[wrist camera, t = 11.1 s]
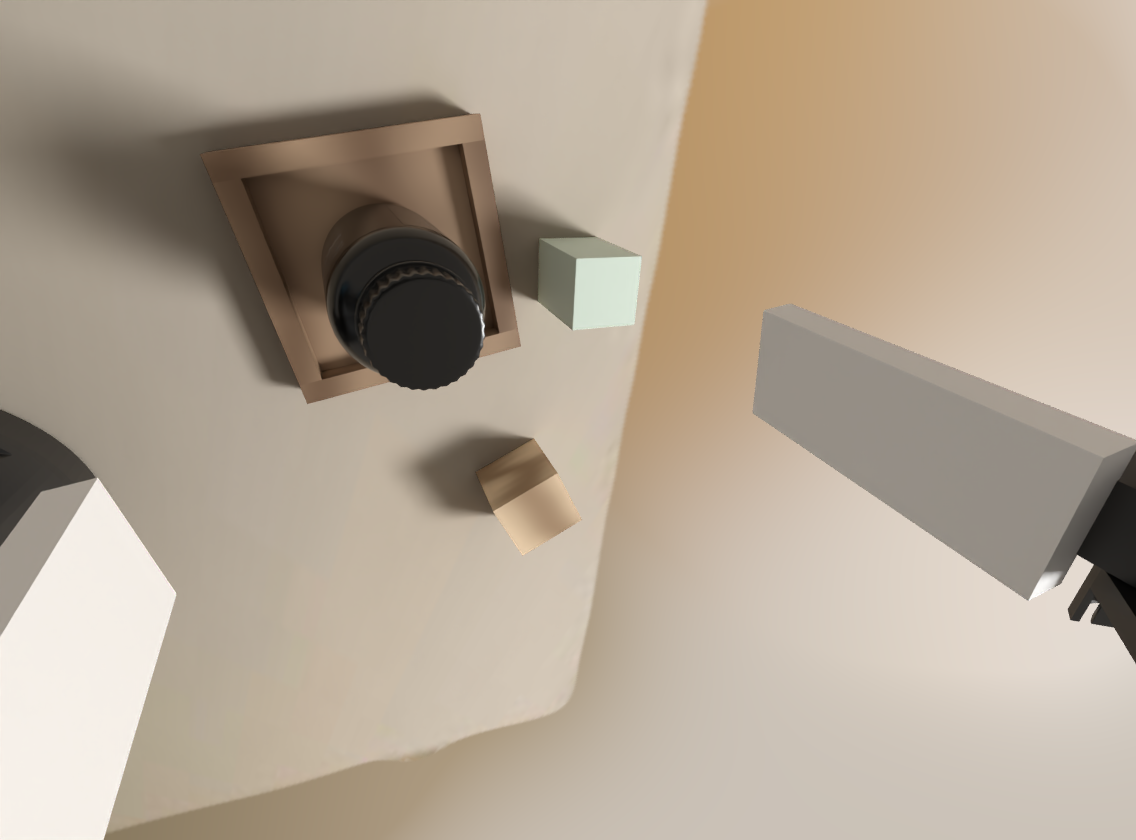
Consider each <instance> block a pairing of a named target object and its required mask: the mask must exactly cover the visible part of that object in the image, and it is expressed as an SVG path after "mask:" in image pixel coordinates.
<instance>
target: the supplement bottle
mask: <svg viewBox="0 0 1136 840" xmlns="http://www.w3.org/2000/svg"><path fill="white" fill-rule="evenodd" d="M321 269H322V278H323V286H324V294H325V301H326V309H327V314H328V318H329V321H330V324H331V327H332V329H333V332H334V334H335V336H336V338H337V339H338V341H339V343H340V344H341V345H342V347H343V348H344V349H345V350H346V352H347V353H348V354H349V355H350V356H351V357H352V358H353V359H355V360H356V361H357V362H359V363H360V364H361V365H363V366H364V367H366V368H368V369H370V370H372V371H374V372H376V373H378V374H380V375H381V376H383V377H386V378H387V379H388V380H389V381H390V382H392V383H397V384H398V385H399V386H400V387H408V388H410V389H412V390H414V389H421V390H427V389H437V388H439V387H440V386H447V385H449V384H450V383H451V382H455V381H457V380H458V379H459V378H460V377H461V376H463V375H465V374H466V373H467V371H468V369H470V368H471V367H473V366H474V362H475V360H477V359H478V358H479V356H480V351H481V349H482V348H483V340H484V338H485V332H484V329H485V322H484V317H485V307H486V303H485V293H484V288H483V284H482V281H481V278H480V275H479V273H478V271H477V269H476V268H475V266H474V264H473V263H472V261H471V260H470V259H469V257H468V256H467V255H466V254H465V253H464V251H463V250H462V249H461V248H460V247H459V246H457V245H456V244H455V243H454V242H453V241H452V240H450V239H449V238H448V237H447V236H446V235H444V234H443V233H442V232H441V231H440V230H438V229H437V228H436V227H435V226H434V225H432V224H431V223H430V222H429V221H427V220H426V219H425V218H423V217H422V216H420V215H419V214H417V213H416V212H414V211H412V210H410V209H407V208H405V207H402V206H398V205H394V204H387V203H375V204H368V205H364V206H361V207H358V208H356V209H354V210H352V211H350V212H348V213H347V214H345V215H344V216H343V217H341V218H340V219H339V220H338V221H337V222H336V223H335V225H334V226H333V227H332V228H331V230H330V232H329V233H328V235H327V237H326V240H325V243H324V246H323V250H322V257H321Z"/></svg>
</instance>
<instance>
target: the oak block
mask: <svg viewBox="0 0 1136 840" xmlns="http://www.w3.org/2000/svg"><path fill="white" fill-rule="evenodd" d="M476 475H477V477H478V479H479V481H480V483H481V486H482V488H483V490H484V492H485V495H486V497H487V499H488V501H489V503H490V506H491V508H492V510H493V512H494V514H495V515H496V517H497V518H498V520H499V521H500V523H501V524H502V526H503V527H504V529H505V530H506V532H507V533H508V535H509V536H510V538H511V539H512V541H513V542H514V544H515V545H516V547H517V548H518V550H519V551H520V553H521V554H522V556H523V555H525V554H526V553H528V552H530V551H531V550H533V549H535V548H536V547H538V546H540V545H541V544H543V543H545V542H546V541H548V540H549V539H551V538H553V537H554V536H556V535H558V534H559V533H561V532H563V531H564V530H566V529H568V528H569V527H571V526H572V525H574V524H576V523H577V522H579V521H581V520H582V519H581V517H580V515H579V513H578V511H577V509H576V508H575V506H574V504H573V502H572V500H571V498H570V496H569V494H568V492H567V490H566V488H565V487H564V485H563V483H562V481H561V479H560V477H559V475H558V473H557V472H556V470H555V469H554V467H553V466H552V464H551V463H550V461H549V460H548V459H547V457H546V456H545V454H544V453H543V451H542V450H541V448H540V447H539V445H538V444H537V442H536V441H535V439H532V440H530V441H529V442H527V443H525V444H523V445H522V446H520V447H518V448H516V449H515V450H513V451H511V452H510V453H508V454H506V455H504V456H503V457H501V458H499V459H497V460H496V461H494V462H492V463H491V464H489V465H487V466H485V467H484V468H482V469H480V470H479V471H477V472H476Z"/></svg>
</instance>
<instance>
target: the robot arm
mask: <svg viewBox="0 0 1136 840" xmlns="http://www.w3.org/2000/svg"><path fill="white" fill-rule="evenodd" d="M753 414H755V415H756V416H758V417H759V418H761V419H762V420H764V421H765V422H767V423H768V424H769V425H771V426H772V427H774V428H775V429H777V430H778V431H780V432H781V433H783V434H784V435H786V436H787V437H789V438H790V439H792V440H793V441H794V442H796V443H797V444H799V445H800V446H802V447H803V448H805V449H806V450H808V451H809V452H811V453H812V454H813V455H815V456H816V457H818V458H819V459H821V460H822V461H824V462H825V463H827V464H828V465H830V466H831V467H833V468H834V469H835V470H837V471H838V472H840V473H841V474H843V475H844V476H846V477H847V478H849V479H850V480H852V481H853V482H855V483H856V484H858V485H859V486H860V487H862V488H863V489H865V490H866V491H868V492H869V493H871V494H872V495H874V496H875V497H877V498H878V499H879V500H881V501H883V502H884V503H885V504H887V505H888V506H890V507H891V508H893V509H894V510H896V511H897V512H899V513H900V514H902V515H903V516H905V517H906V518H907V519H909V520H910V521H912V522H913V523H915V524H916V525H918V526H919V527H921V528H922V529H924V530H925V531H926V532H928V533H930V534H931V535H932V536H934V537H935V538H937V539H938V540H940V541H941V542H943V543H944V544H946V545H947V546H949V547H950V548H952V549H953V550H954V551H956V552H957V553H959V554H960V555H962V556H963V557H965V558H966V559H968V560H969V561H970V562H972V563H973V564H975V565H976V566H978V567H979V568H981V569H982V570H984V571H985V572H987V573H988V574H990V575H991V576H993V577H994V578H995V579H997V580H998V581H1000V582H1001V583H1003V584H1004V585H1006V586H1007V587H1009V588H1010V589H1012V590H1013V591H1015V592H1016V593H1018V594H1019V595H1020V596H1022V597H1023V598H1025V599H1026V600H1028V601H1029V600H1031V599H1033V598H1035V597H1036V596H1039V595H1040V594H1042V593H1044V592H1046V591H1048V590H1050V589H1052V588H1054V587H1056V586H1058V585H1060V584H1061V583H1062V580H1063V579H1064V577H1065V575H1066V574H1067V572H1068V570H1069V568H1070V566H1071V565H1072V563H1073V561H1074V559H1075V558H1076V556H1077V555H1079V556H1080V557H1082V558H1084V559H1086V560H1087V561H1089V562H1091V563H1093V564H1094V566H1093V568H1092V569H1091V571H1090V573H1089V574H1088V576H1087V578H1086V580H1085V581H1084V583H1083V584H1082V586H1081V588H1080V589H1079V591H1078V593H1077V594H1076V596H1075V598H1074V600H1073V601H1072V603H1071V605H1070V606H1069V608H1068V612H1069V616H1070V620H1073V621H1080V619H1081V617H1082V616H1083V614H1084V613H1085V611H1086V609H1087V608H1088V606H1089V604H1090V603H1100V604H1099V605H1098V607H1097V609H1096V610H1095V612H1094V613H1093V615H1092V618H1091V623H1092V624H1097V625H1102V626H1108V627H1114V628H1115V630H1116V631H1117V633H1118V635H1119V636H1120V638H1121V640H1122V641H1123V643H1124V645H1125V646H1126V648H1127V650H1128V651H1129V653H1130V655H1131V656H1132V658H1133V660H1134V661H1135V663H1136V440H1135V439H1132V438H1130V437H1127V436H1125V435H1122V434H1120V433H1117V432H1114V431H1112V430H1110V429H1107V428H1104V427H1102V426H1099V425H1097V424H1094V423H1092V422H1089V421H1087V420H1084V419H1081V418H1079V417H1077V416H1074V415H1071V414H1069V413H1066V412H1064V411H1061V410H1059V409H1056V408H1054V407H1051V406H1049V405H1046V404H1044V403H1041V402H1039V401H1036V400H1033V399H1031V398H1028V397H1026V396H1023V395H1021V394H1018V393H1016V392H1013V391H1011V390H1008V389H1006V388H1003V387H1001V386H998V385H996V384H993V383H990V382H988V381H985V380H983V379H980V378H978V377H975V376H973V375H970V374H968V373H965V372H963V371H960V370H958V369H955V368H952V367H950V366H947V365H945V364H942V363H940V362H937V361H935V360H932V359H929V358H927V357H924V356H922V355H920V354H917V353H914V352H912V351H909V350H907V349H904V348H902V347H899V346H896V345H894V344H892V343H889V342H886V341H884V340H881V339H879V338H876V337H874V336H871V335H869V334H866V333H864V332H861V331H859V330H856V329H854V328H851V327H849V326H846V325H844V324H841V323H838V322H836V321H833V320H831V319H828V318H826V317H823V316H821V315H818V314H816V313H813V312H811V311H808V310H805V309H803V308H800V307H798V306H795V305H793V304H787V305H783V306H779V307H775V308H771V309H767V310H764V312H763V322H762V331H761V341H760V349H759V359H758V368H757V378H756V387H755V397H754V405H753ZM175 598H176V592H175V591H174V589H173V588H172V586H171V585H170V584H169V582H168V581H167V579H166V578H165V576H164V575H163V573H162V572H161V570H160V569H159V567H158V566H157V564H156V563H155V561H154V560H153V558H152V557H151V555H150V554H149V553H148V551H147V550H146V548H145V547H144V545H143V544H142V542H141V541H140V539H139V538H138V536H137V535H136V533H135V532H134V530H133V529H132V527H131V526H130V524H129V523H128V522H127V520H126V519H125V517H124V516H123V514H122V513H121V511H120V510H119V508H118V507H117V505H116V504H115V502H114V501H113V499H112V498H111V496H110V495H109V493H108V492H107V491H106V489H105V488H104V486H103V485H102V483H101V482H100V480H99V479H98V478H95V476H94V475H93V474H92V472H91V471H90V470H89V469H88V467H87V466H86V465H85V464H84V463H83V462H82V461H81V460H80V459H79V458H78V457H77V456H76V455H75V454H74V453H73V452H72V451H71V450H69V449H68V448H67V447H66V446H64V445H63V444H62V443H61V442H59V441H58V440H56V439H55V438H53V437H52V436H51V435H49V434H47V433H46V432H44V431H42V430H41V429H39V428H37V427H35V426H33V425H32V424H30V423H28V422H26V421H24V420H22V419H19V418H17V417H15V416H13V415H10V414H8V413H6V412H3V411H1V410H0V840H103V839H104V836H105V833H106V829H107V826H108V822H109V819H110V816H111V812H112V809H113V806H114V802H115V799H116V796H117V792H118V789H119V786H120V782H121V779H122V775H123V772H124V769H125V765H126V762H127V759H128V755H129V752H130V749H131V745H132V742H133V739H134V735H135V732H136V728H137V725H138V722H139V718H140V715H141V712H142V708H143V705H144V702H145V698H146V695H147V692H148V688H149V685H150V681H151V678H152V675H153V671H154V668H155V665H156V661H157V658H158V655H159V651H160V648H161V645H162V641H163V638H164V634H165V631H166V628H167V624H168V621H169V618H170V614H171V611H172V608H173V604H174V601H175Z"/></svg>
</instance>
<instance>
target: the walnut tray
mask: <svg viewBox="0 0 1136 840" xmlns="http://www.w3.org/2000/svg"><path fill="white" fill-rule="evenodd" d="M200 155H201V158H202V160H203V162H204V165H205V167H206V169H207V172H208V174H209V176H210V179H211V181H212V183H213V186H214V188H215V190H216V193H217V195H218V197H219V200H220V202H221V204H222V207H223V209H224V211H225V214H226V216H227V218H228V220H229V223H230V225H231V227H232V230H233V232H234V234H235V237H236V239H237V241H238V244H239V246H240V248H241V251H242V253H243V255H244V258H245V260H246V262H247V265H248V267H249V269H250V272H251V274H252V276H253V279H254V281H255V283H256V285H257V288H258V290H259V292H260V295H261V297H262V299H263V302H264V304H265V306H266V309H267V311H268V313H269V316H270V318H271V320H272V323H273V325H274V327H275V330H276V332H277V334H278V337H279V339H280V341H281V344H282V346H283V348H284V351H285V353H286V355H287V357H288V360H289V362H290V364H291V367H292V369H293V371H294V374H295V376H296V378H297V381H298V383H299V385H300V388H301V390H302V392H303V395H304V397H305V399H306V402H307V404H309V403H313V402H317V401H320V400H324V399H328V398H331V397H335V396H339V395H342V394H346V393H350V392H354V391H357V390H361V389H365V388H368V387H372V386H376V385H379V384H383V383H387V382H390V381H389V380H388V379H387V378H386V377H383V376H381V375H380V374H378V373H376V372H374V371H372V370H370V369H368V368H366V367H364V366H363V365H361V364H360V363H359V362H357V361H356V360H355V359H353V358H352V357H351V356H350V355H349V354H348V353H347V352H346V350H345V349H344V348H343V347H342V345H341V344H340V343H339V341H338V339H337V338H336V336H335V334H334V332H333V329H332V327H331V324H330V321H329V318H328V314H327V309H326V301H325V294H324V286H323V278H322V269H321V257H322V250H323V246H324V243H325V240H326V237H327V235H328V233H329V232H330V230H331V228H332V227H333V226H334V225H335V223H336V222H337V221H338V220H339V219H340V218H341V217H343V216H344V215H345V214H347V213H348V212H350V211H352V210H354V209H356V208H358V207H361V206H364V205H368V204H375V203H387V204H394V205H398V206H402V207H405V208H407V209H410V210H412V211H414V212H416V213H417V214H419V215H420V216H422V217H423V218H425V219H426V220H427V221H429V222H430V223H431V224H432V225H434V226H435V227H436V228H437V229H438V230H440V231H441V232H442V233H443V234H444V235H446V236H447V237H448V238H449V239H450V240H452V241H453V242H454V243H455V244H456V245H457V246H459V247H460V248H461V249H462V250H463V251H464V253H465V254H466V255H467V256H468V257H469V259H470V260H471V261H472V263H473V264H474V266H475V268H476V269H477V271H478V273H479V275H480V278H481V281H482V284H483V288H484V293H485V303H486V307H485V317H484V322H485V329H484V332H485V338H484V340H483V348H482V349H481V351H480V356H479V357H483V356H487V355H490V354H494V353H498V352H502V351H505V350H509V349H513V348H516V347H520V346H521V344H520V338H519V333H518V327H517V321H516V316H515V310H514V304H513V298H512V293H511V287H510V281H509V276H508V270H507V264H506V258H505V253H504V247H503V241H502V236H501V230H500V224H499V219H498V213H497V207H496V201H495V196H494V190H493V184H492V179H491V173H490V167H489V161H488V156H487V150H486V144H485V139H484V133H483V127H482V121H481V116H480V114H467V115H460V116H453V117H446V118H439V119H432V120H425V121H418V122H411V123H404V124H397V125H390V126H383V127H377V128H370V129H363V130H356V131H349V132H342V133H335V134H328V135H321V136H314V137H307V138H300V139H293V140H286V141H280V142H273V143H266V144H259V145H252V146H245V147H238V148H231V149H224V150H217V151H210V152H206V153H202V154H200Z"/></svg>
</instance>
